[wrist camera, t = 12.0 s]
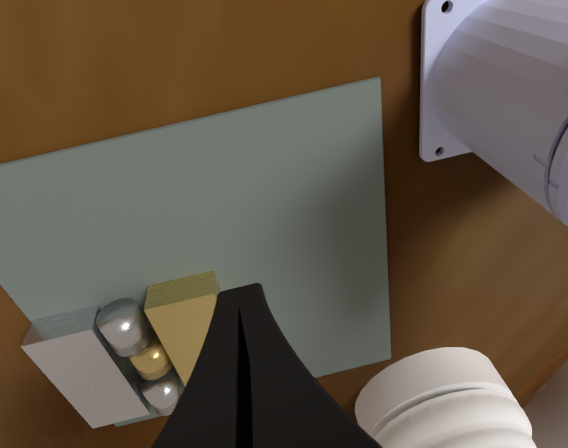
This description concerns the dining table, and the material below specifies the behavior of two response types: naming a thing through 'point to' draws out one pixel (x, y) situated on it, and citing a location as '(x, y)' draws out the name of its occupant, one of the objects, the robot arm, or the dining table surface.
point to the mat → (218, 220)
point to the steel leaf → (101, 362)
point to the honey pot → (442, 404)
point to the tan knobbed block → (177, 324)
